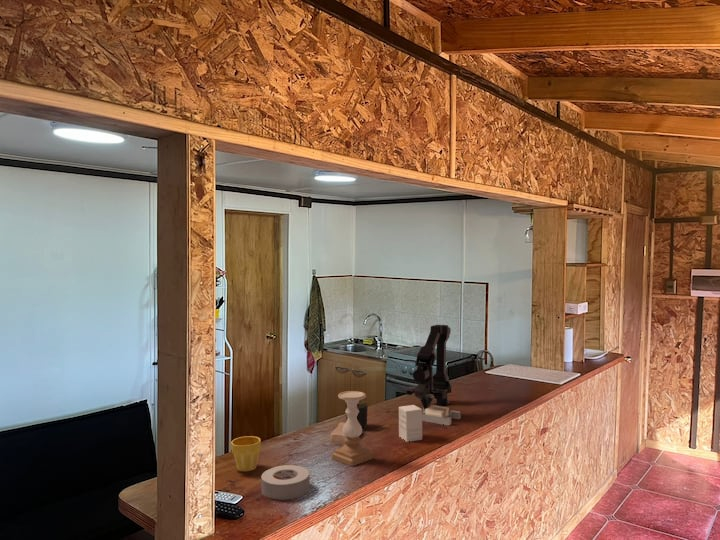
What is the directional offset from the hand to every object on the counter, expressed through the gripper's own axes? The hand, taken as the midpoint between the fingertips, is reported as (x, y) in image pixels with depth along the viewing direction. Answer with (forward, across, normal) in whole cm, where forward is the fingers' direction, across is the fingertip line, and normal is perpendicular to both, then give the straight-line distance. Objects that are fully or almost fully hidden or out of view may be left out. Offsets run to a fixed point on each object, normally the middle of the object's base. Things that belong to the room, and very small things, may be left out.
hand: (426, 411), depth 253 cm
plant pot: (+3, -27, -88) cm, 92 cm away
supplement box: (+3, +8, -30) cm, 31 cm away
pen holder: (+3, -18, -30) cm, 35 cm away
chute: (+3, +5, 0) cm, 6 cm away
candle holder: (+3, 0, -61) cm, 61 cm away
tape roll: (+3, -4, -94) cm, 94 cm away
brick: (+3, -15, -44) cm, 47 cm away
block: (+3, +5, 0) cm, 6 cm away
